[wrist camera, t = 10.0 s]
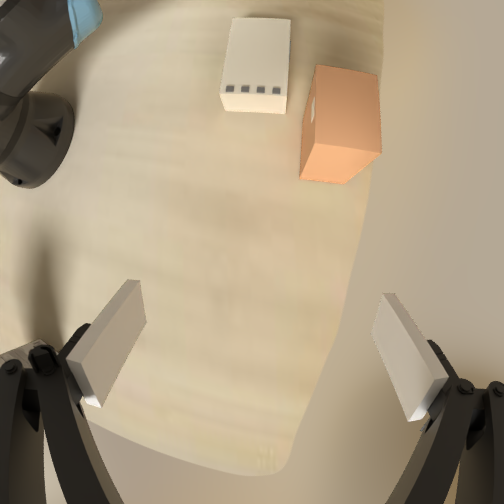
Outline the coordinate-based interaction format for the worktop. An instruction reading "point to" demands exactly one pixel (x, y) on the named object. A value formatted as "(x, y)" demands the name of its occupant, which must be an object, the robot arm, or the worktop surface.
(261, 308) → the worktop surface
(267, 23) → the white button box
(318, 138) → the brown box
